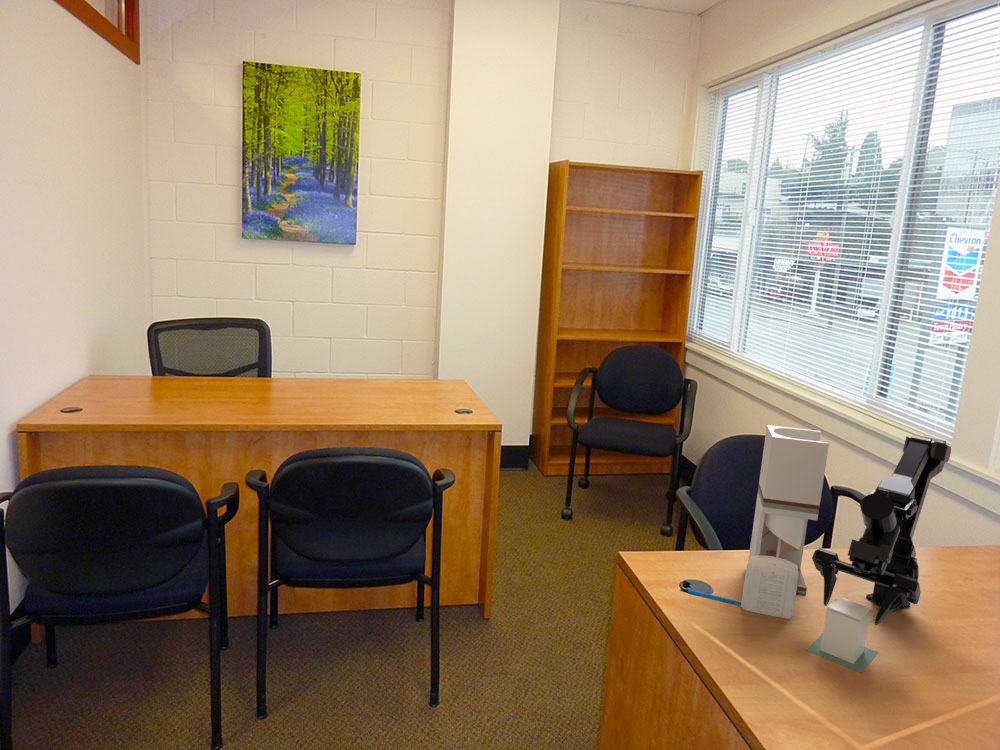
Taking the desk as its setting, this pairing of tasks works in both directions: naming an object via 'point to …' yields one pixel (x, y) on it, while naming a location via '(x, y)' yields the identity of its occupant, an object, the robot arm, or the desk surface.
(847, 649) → the white lidded box
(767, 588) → the photo printer
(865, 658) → the mat
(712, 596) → the pen
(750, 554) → the white coffee grinder
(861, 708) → the desk surface
